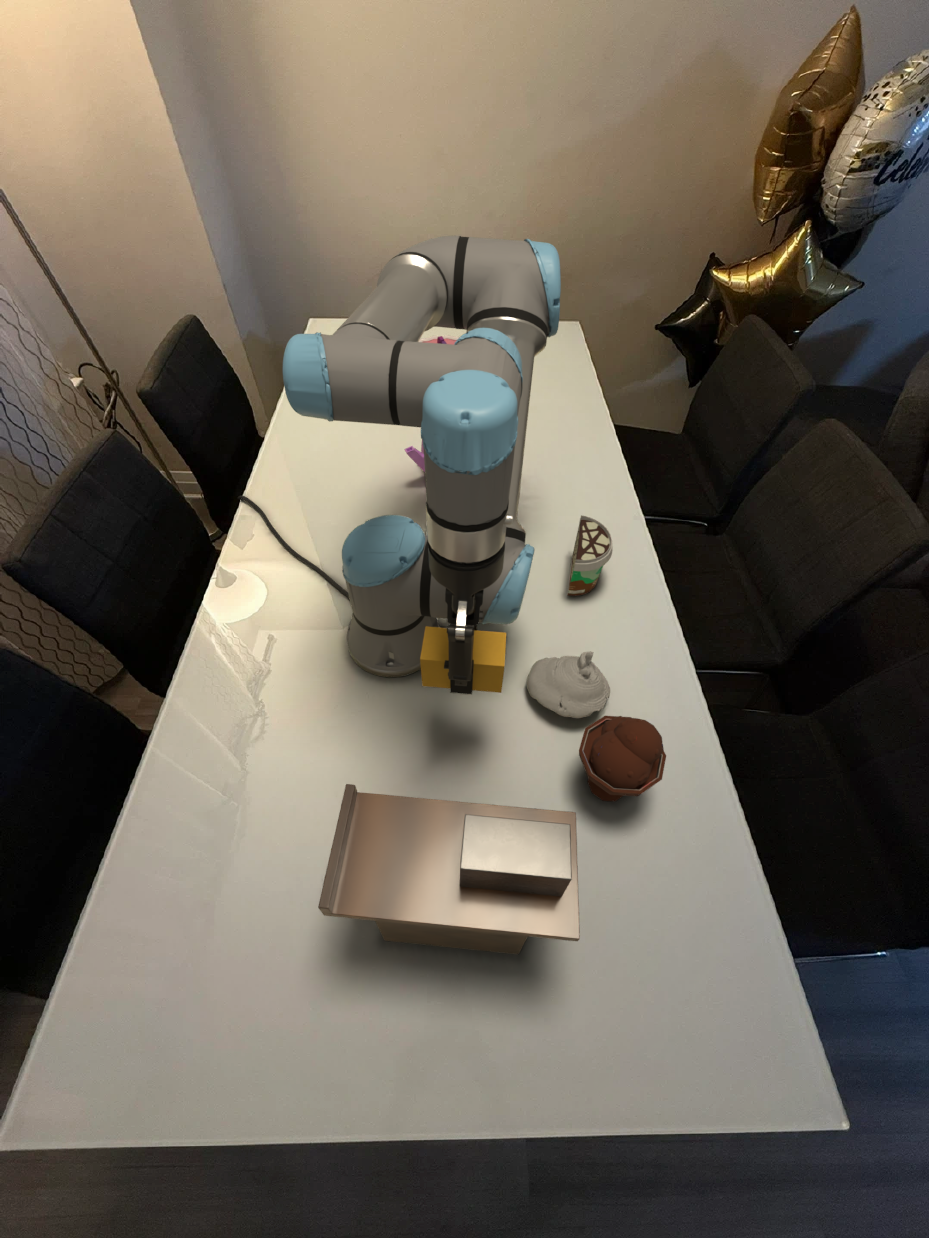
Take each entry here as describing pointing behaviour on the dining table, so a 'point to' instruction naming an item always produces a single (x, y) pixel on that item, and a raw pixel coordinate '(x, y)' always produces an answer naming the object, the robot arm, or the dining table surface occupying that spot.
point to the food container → (588, 556)
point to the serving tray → (454, 871)
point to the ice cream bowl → (621, 757)
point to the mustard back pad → (485, 657)
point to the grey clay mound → (569, 685)
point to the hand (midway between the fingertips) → (463, 671)
